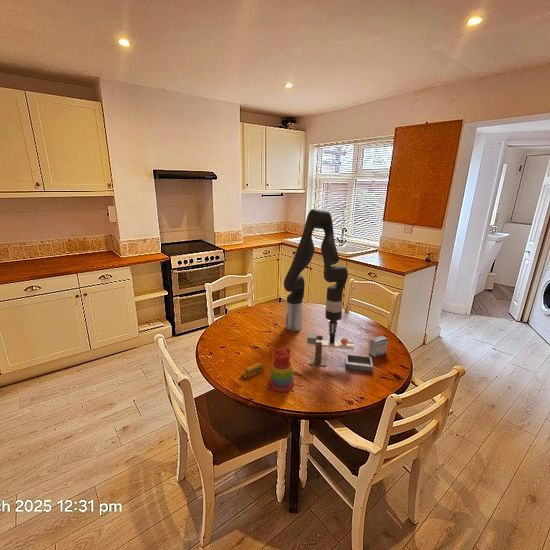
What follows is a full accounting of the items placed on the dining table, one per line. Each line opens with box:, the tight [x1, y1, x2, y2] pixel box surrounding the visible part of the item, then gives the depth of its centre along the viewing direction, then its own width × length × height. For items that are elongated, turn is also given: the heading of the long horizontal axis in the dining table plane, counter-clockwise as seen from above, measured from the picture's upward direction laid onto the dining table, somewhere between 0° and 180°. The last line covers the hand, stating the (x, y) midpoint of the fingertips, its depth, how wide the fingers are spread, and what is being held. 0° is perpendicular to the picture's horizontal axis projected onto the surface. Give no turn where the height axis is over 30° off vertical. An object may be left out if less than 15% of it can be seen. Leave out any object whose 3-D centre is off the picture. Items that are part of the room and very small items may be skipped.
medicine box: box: [368, 335, 388, 358], centre depth 151 cm, size 8×4×9 cm, turn 118°
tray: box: [344, 353, 374, 374], centre depth 142 cm, size 12×9×3 cm
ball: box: [340, 337, 349, 345], centre depth 140 cm, size 3×3×3 cm
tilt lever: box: [306, 332, 355, 351], centre depth 142 cm, size 22×6×4 cm, turn 78°
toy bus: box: [241, 361, 264, 380], centre depth 136 cm, size 3×10×4 cm, turn 129°
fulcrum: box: [309, 334, 328, 367], centre depth 144 cm, size 8×8×12 cm
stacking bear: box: [268, 347, 295, 393], centre depth 126 cm, size 11×10×18 cm
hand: (332, 342), depth 142 cm, fingers closed
